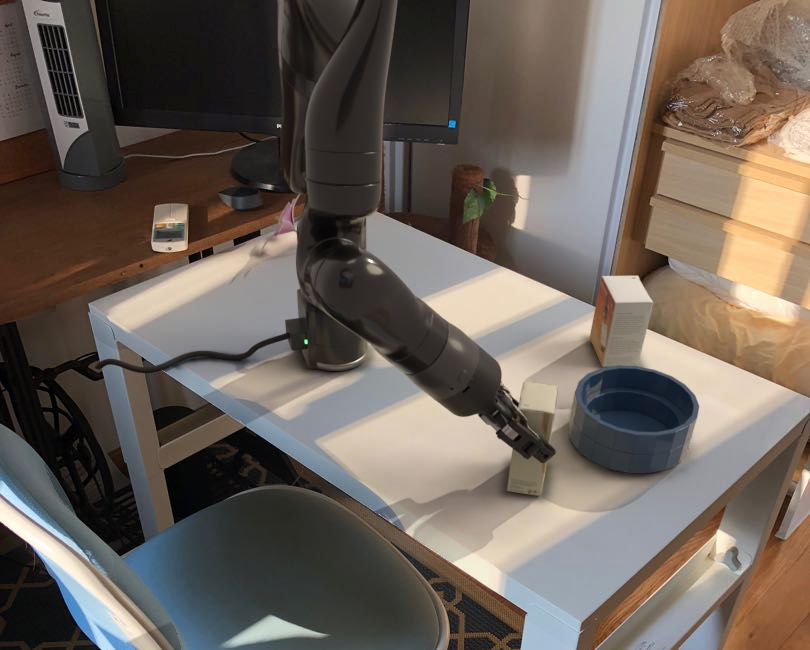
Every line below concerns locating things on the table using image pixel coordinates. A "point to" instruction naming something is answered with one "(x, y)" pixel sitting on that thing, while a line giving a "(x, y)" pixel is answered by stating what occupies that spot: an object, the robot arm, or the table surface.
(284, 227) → the lily
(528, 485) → the cosmetic box
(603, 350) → the small box
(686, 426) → the bowl
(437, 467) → the table surface
